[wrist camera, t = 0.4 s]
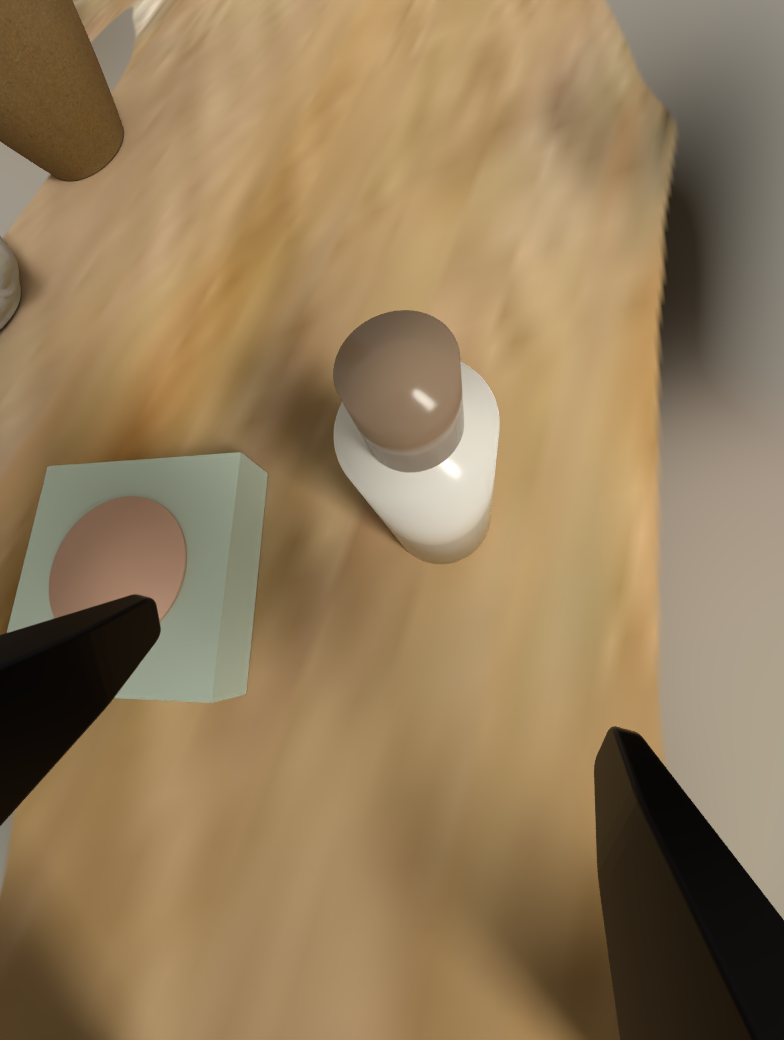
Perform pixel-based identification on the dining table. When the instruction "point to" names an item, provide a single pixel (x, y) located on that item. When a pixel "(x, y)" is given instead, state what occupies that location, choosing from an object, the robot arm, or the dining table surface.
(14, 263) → the teacup
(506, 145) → the dining table surface
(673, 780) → the robot arm
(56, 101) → the plant pot
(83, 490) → the stacking base
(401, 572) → the dining table surface
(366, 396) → the cosmetic bottle
